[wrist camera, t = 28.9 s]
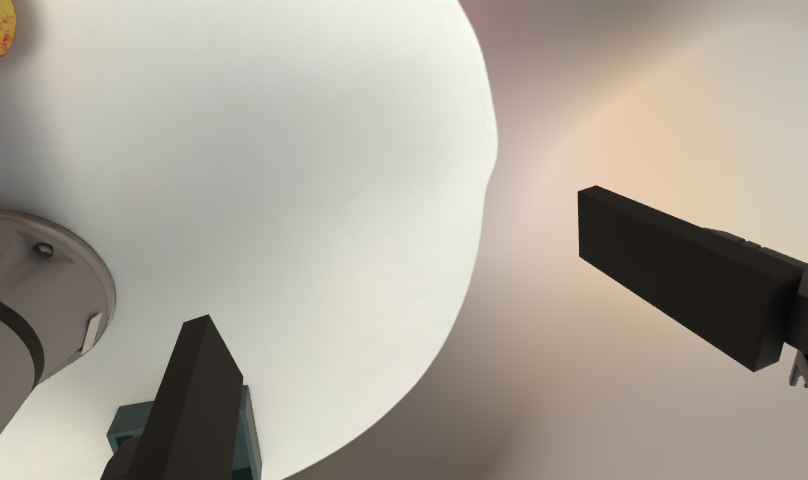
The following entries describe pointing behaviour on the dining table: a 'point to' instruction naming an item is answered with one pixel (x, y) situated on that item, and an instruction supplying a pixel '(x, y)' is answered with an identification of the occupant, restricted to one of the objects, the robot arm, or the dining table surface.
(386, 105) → the dining table surface
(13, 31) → the apple
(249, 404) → the holder
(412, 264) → the dining table surface
